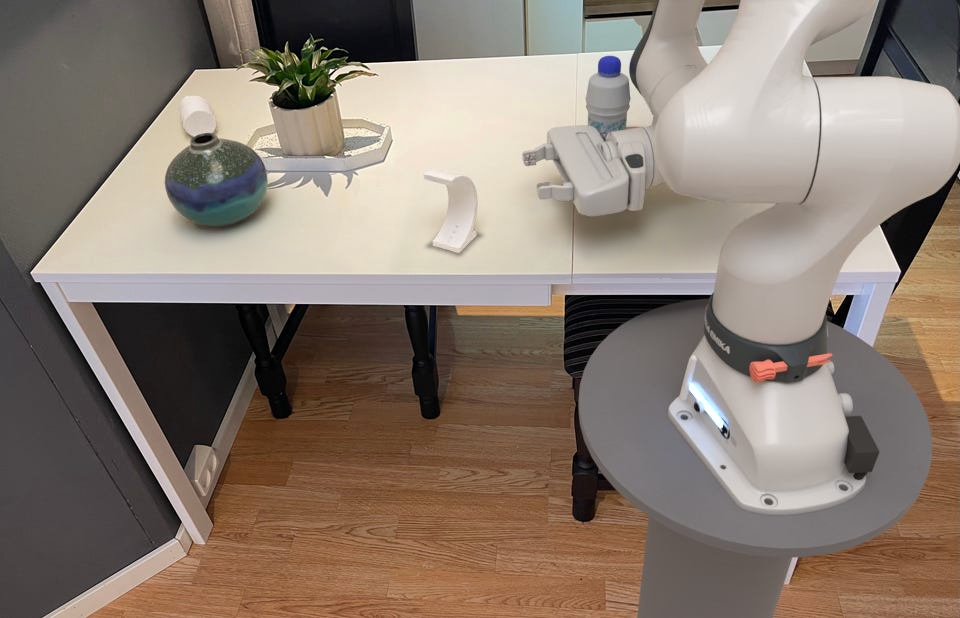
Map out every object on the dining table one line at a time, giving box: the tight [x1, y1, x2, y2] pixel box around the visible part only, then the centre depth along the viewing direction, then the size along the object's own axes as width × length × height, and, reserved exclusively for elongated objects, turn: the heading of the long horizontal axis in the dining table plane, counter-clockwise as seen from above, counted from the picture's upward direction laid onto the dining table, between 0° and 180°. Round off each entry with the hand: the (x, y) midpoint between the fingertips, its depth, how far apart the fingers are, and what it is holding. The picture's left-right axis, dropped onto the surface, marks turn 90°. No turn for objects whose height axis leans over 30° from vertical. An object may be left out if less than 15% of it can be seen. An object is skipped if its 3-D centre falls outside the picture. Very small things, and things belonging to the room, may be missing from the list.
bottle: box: [585, 55, 632, 134], centre depth 121 cm, size 7×7×20 cm
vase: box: [164, 132, 269, 227], centre depth 123 cm, size 15×15×13 cm
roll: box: [178, 95, 217, 138], centre depth 151 cm, size 6×12×6 cm, turn 23°
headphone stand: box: [423, 168, 479, 254], centre depth 113 cm, size 5×6×12 cm
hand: (530, 175), depth 113 cm, fingers open, 8 cm apart
